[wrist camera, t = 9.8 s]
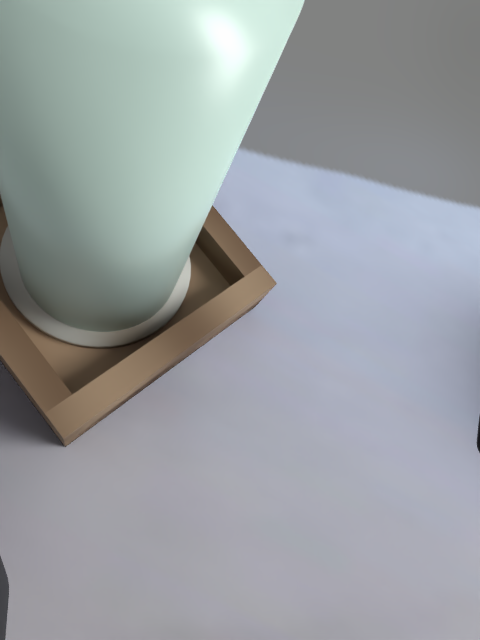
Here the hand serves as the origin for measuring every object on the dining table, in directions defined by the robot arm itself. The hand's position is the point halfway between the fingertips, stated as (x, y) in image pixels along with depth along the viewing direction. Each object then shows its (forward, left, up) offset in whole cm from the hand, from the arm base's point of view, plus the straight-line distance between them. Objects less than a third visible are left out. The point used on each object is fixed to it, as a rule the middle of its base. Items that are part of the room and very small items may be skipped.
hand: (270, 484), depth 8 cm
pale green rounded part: (+3, +9, -9) cm, 13 cm away
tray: (+3, +9, -10) cm, 14 cm away
